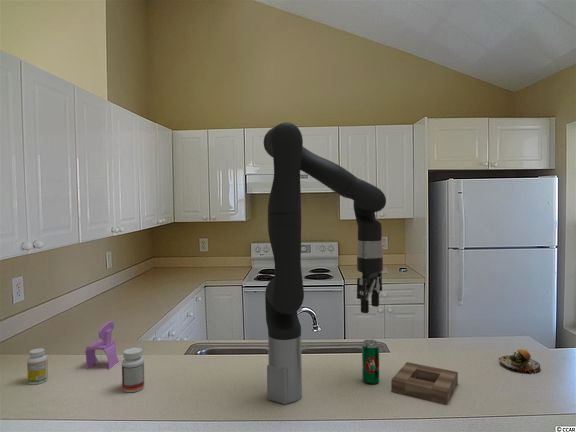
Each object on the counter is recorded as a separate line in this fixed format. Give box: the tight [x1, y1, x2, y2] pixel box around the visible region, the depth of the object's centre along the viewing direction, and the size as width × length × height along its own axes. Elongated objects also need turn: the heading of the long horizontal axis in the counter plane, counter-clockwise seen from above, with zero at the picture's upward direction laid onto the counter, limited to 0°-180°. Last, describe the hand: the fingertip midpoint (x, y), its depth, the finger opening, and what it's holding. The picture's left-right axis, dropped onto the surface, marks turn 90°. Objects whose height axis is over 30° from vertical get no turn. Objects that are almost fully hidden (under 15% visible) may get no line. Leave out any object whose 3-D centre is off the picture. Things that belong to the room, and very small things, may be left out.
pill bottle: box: [121, 347, 145, 393], centre depth 122 cm, size 6×6×11 cm
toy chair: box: [84, 320, 120, 370], centre depth 140 cm, size 8×9×15 cm
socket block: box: [390, 361, 459, 406], centre depth 120 cm, size 15×15×4 cm
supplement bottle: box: [26, 347, 49, 385], centre depth 128 cm, size 5×5×10 cm
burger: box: [498, 348, 541, 375], centre depth 134 cm, size 12×12×8 cm
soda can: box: [361, 339, 380, 385], centre depth 124 cm, size 5×5×12 cm
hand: (370, 309), depth 124 cm, fingers open, 8 cm apart
